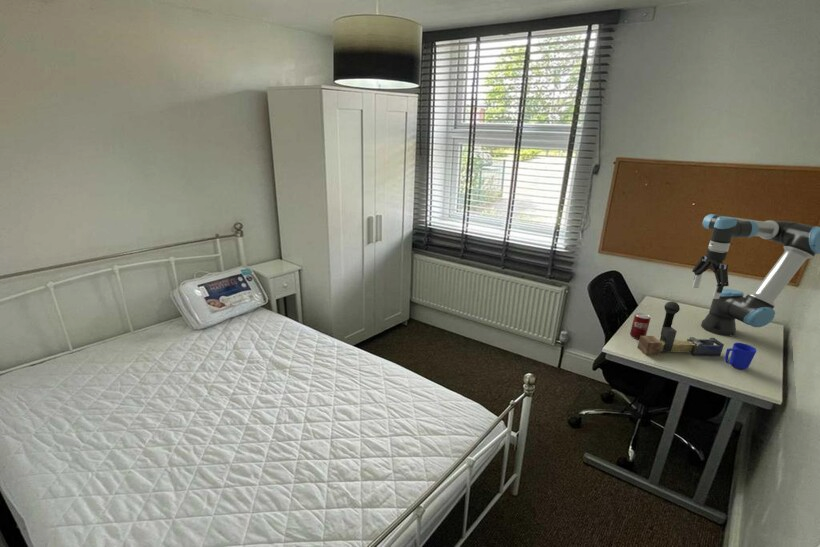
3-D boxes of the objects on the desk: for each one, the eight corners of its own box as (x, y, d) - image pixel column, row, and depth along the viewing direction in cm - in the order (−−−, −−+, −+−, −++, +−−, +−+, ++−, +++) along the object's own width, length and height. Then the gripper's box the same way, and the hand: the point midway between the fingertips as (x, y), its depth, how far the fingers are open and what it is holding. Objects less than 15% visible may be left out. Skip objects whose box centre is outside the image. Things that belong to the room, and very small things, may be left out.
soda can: (647, 340, 203) (653, 319, 199) (632, 338, 205) (637, 317, 201) (642, 334, 210) (647, 313, 206) (627, 332, 211) (632, 311, 207)
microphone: (661, 333, 212) (670, 298, 205) (674, 338, 206) (684, 303, 200) (653, 335, 209) (663, 300, 202) (666, 341, 204) (676, 305, 197)
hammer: (693, 347, 195) (700, 327, 191) (699, 352, 191) (706, 331, 188) (644, 346, 195) (649, 326, 191) (649, 351, 191) (654, 330, 187)
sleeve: (710, 349, 197) (713, 337, 195) (720, 356, 191) (724, 344, 189) (684, 348, 197) (687, 337, 195) (693, 355, 191) (697, 343, 188)
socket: (650, 347, 197) (653, 335, 194) (658, 355, 190) (662, 343, 188) (637, 347, 196) (640, 335, 194) (645, 355, 190) (648, 342, 188)
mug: (714, 361, 186) (721, 342, 183) (738, 361, 187) (745, 342, 184) (729, 371, 178) (736, 352, 175) (754, 371, 179) (761, 351, 176)
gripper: (691, 243, 195) (680, 283, 202) (730, 258, 172) (716, 303, 179) (706, 243, 195) (694, 283, 202) (747, 258, 172) (733, 303, 179)
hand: (705, 293), depth 191 cm, fingers open, 13 cm apart
